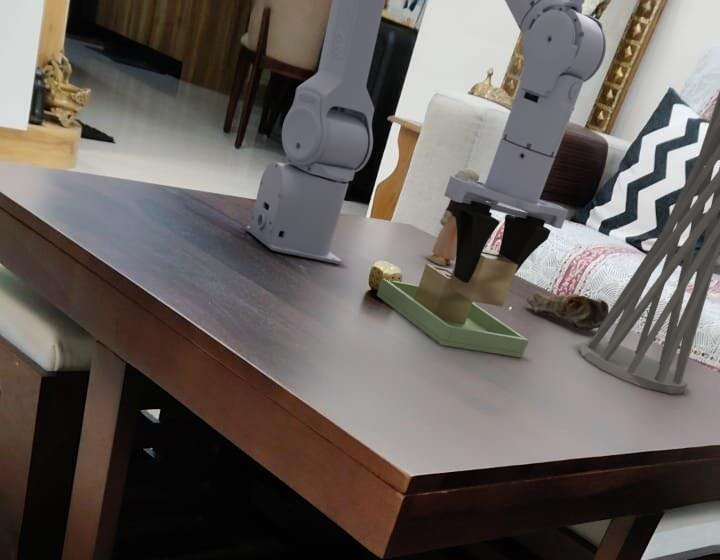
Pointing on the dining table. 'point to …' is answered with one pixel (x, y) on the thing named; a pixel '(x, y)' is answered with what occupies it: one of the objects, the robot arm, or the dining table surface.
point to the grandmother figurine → (450, 227)
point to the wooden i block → (487, 279)
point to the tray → (454, 323)
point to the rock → (571, 309)
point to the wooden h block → (442, 295)
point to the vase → (636, 362)
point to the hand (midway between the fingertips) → (479, 283)
